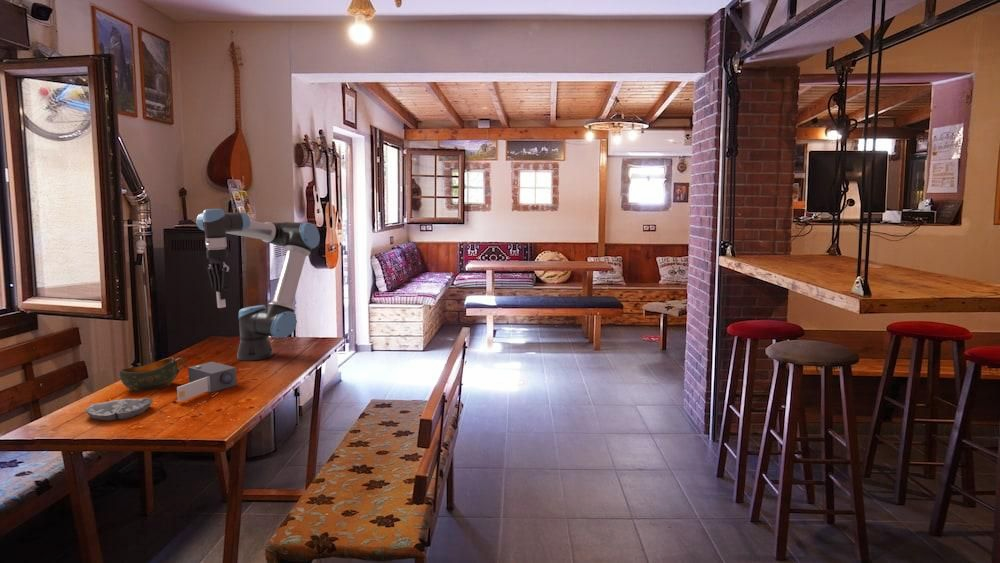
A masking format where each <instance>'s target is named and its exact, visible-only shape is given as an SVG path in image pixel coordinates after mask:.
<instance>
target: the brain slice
mask: <svg viewBox="0 0 1000 563" xmlns="http://www.w3.org/2000/svg"><path fill="white" fill-rule="evenodd" d="M152 403H153V398H152V397H151V398H150V397H146V398H145V397H144V398H123V399H115V400H109V401H104V402H98V403H93V404H91V405H89V406H88V407H87V408H86V409H85V410H84V412H85V413H87V415H88V416H89V417H90V418H92V419H93V420H99V419H100V420H101V421H116V420H126V419H131V418H133V417H136V416H139V415H141V414H143V413H145V412H146V410H147V409H149V407H150V406H151V404H152Z"/></svg>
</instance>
